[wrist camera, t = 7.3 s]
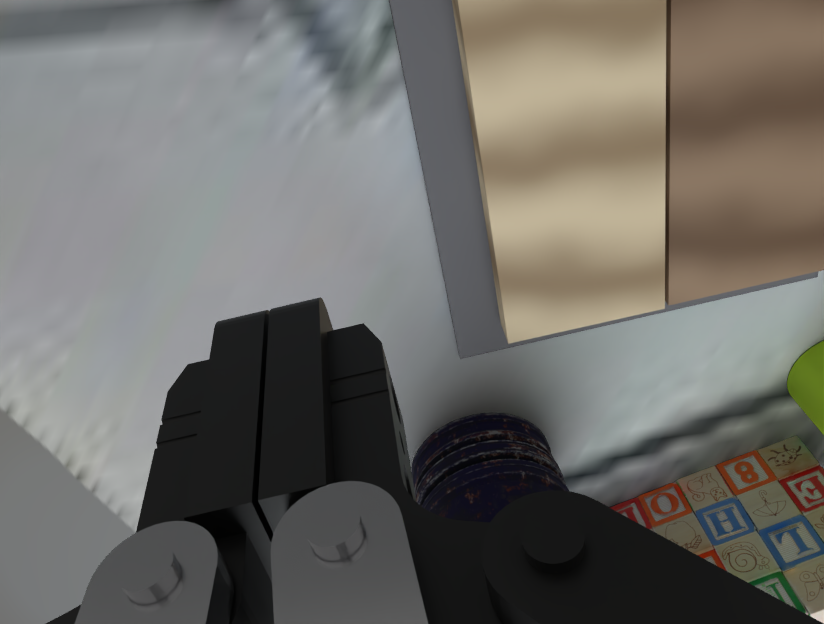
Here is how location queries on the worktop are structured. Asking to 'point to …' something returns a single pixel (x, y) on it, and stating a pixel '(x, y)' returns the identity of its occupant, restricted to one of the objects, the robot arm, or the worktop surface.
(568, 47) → the oak plank
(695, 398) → the worktop surface
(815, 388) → the soap dispenser
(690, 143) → the walnut plank
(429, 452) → the storage jar
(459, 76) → the underlay mat
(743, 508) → the stack of blocks
